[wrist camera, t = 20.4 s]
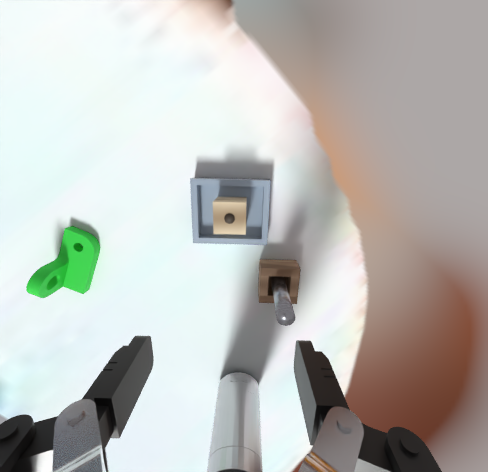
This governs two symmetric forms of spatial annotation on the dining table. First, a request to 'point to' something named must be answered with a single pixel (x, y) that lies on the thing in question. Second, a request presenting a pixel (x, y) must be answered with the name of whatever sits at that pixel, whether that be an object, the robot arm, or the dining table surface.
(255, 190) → the tray
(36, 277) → the mechanical part
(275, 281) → the rod
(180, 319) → the dining table surface
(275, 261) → the wooden square socket
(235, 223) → the block
